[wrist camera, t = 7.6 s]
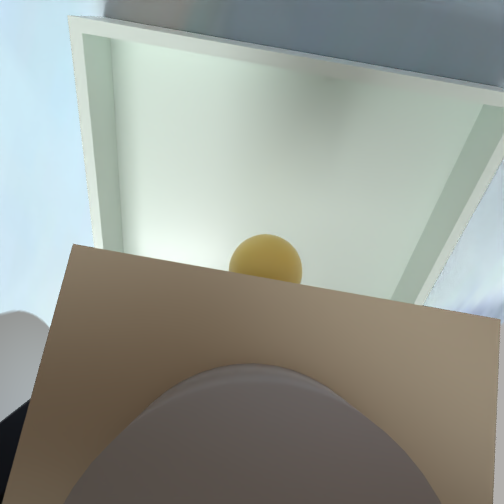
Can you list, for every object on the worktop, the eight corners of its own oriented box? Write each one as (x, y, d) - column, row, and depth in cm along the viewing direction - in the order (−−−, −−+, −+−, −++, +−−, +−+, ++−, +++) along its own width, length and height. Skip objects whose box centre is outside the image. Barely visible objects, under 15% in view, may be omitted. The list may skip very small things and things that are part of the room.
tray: (377, 335, 25) (387, 370, 22) (121, 290, 25) (102, 320, 22) (497, 86, 16) (536, 98, 13) (102, 16, 16) (67, 15, 13)
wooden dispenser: (304, 471, 15) (612, 1205, 3) (154, 445, 15) (-255, 1052, 3) (325, 318, 16) (602, 320, 4) (185, 293, 16) (7, 214, 4)
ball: (295, 226, 13) (291, 225, 16) (214, 246, 13) (226, 241, 16) (314, 306, 13) (306, 290, 16) (234, 324, 13) (242, 305, 16)
